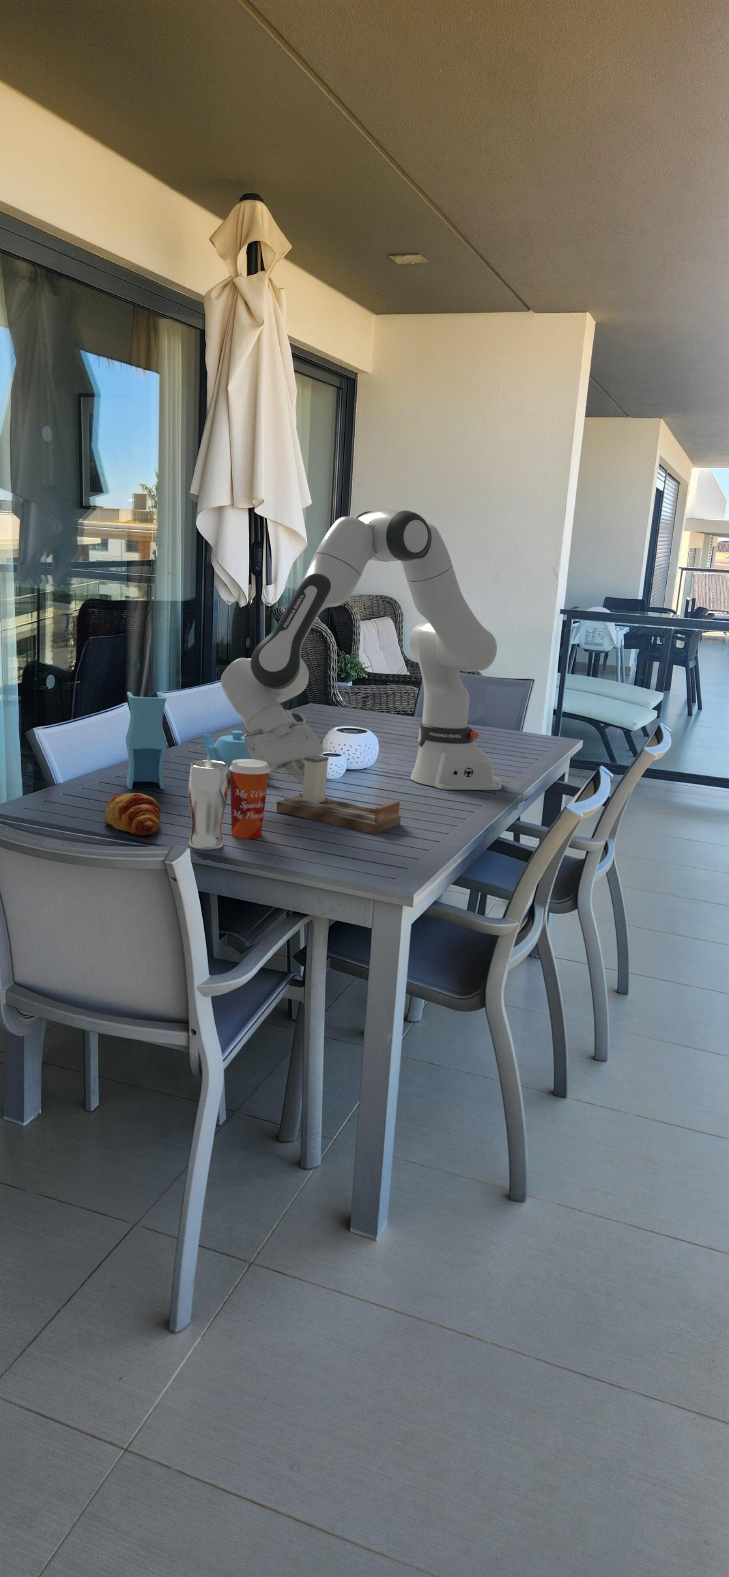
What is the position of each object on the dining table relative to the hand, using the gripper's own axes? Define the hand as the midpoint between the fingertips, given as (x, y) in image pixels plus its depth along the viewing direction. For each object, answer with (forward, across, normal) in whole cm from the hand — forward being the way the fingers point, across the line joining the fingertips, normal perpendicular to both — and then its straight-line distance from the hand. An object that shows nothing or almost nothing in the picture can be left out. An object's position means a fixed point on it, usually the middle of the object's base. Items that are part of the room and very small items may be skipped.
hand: (306, 781), depth 208 cm
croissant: (-7, -34, +16) cm, 38 cm away
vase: (-22, -9, +31) cm, 39 cm away
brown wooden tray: (+10, 0, -1) cm, 10 cm away
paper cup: (+6, -24, +3) cm, 25 cm away
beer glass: (+6, -34, +3) cm, 35 cm away
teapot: (-16, +14, +26) cm, 33 cm away
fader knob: (+4, 0, +1) cm, 5 cm away
